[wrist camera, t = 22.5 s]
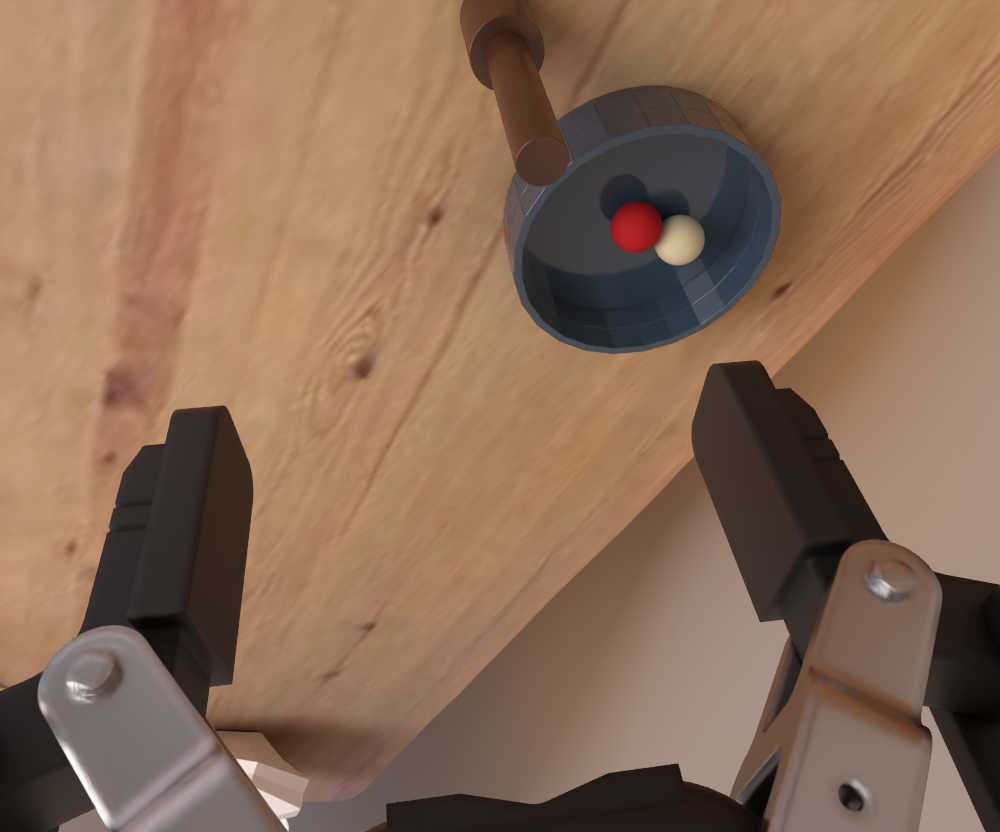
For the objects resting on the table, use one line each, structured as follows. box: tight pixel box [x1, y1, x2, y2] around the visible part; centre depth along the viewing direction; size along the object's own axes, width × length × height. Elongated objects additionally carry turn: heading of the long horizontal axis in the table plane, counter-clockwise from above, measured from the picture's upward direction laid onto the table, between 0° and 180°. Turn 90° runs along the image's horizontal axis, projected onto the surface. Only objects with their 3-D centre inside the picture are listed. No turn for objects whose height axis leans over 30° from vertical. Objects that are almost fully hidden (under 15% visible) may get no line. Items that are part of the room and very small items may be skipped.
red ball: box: [610, 201, 662, 253], centre depth 44 cm, size 3×3×3 cm
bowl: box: [504, 86, 781, 354], centre depth 44 cm, size 15×15×4 cm
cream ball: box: [654, 215, 705, 265], centre depth 45 cm, size 3×3×3 cm
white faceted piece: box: [216, 731, 309, 832], centre depth 95 cm, size 25×24×12 cm
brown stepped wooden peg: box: [460, 0, 569, 186], centre depth 32 cm, size 3×3×14 cm
